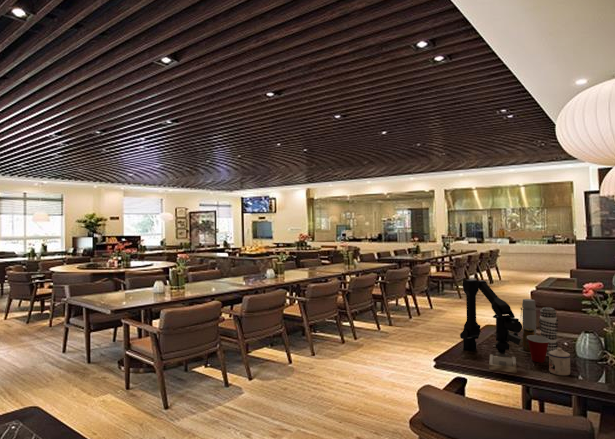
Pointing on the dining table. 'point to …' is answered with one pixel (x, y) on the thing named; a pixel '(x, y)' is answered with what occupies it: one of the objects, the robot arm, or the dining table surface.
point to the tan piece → (503, 368)
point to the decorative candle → (549, 327)
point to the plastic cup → (538, 347)
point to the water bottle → (529, 314)
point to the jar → (502, 354)
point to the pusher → (502, 361)
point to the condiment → (526, 340)
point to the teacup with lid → (559, 362)
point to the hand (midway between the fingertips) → (502, 358)
